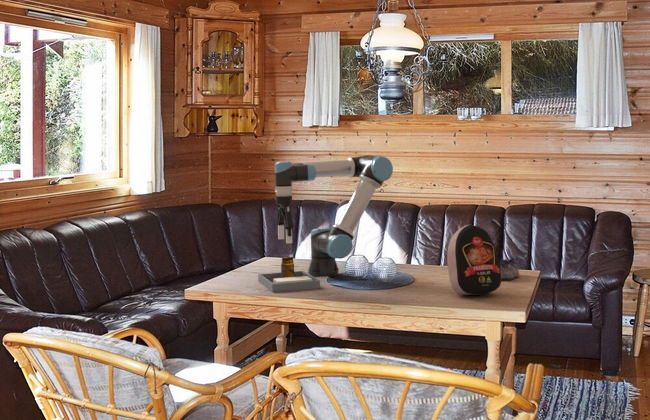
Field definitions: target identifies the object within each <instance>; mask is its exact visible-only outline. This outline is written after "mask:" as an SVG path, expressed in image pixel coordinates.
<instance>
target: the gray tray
mask: <svg viewBox="0 0 650 420" xmlns="http://www.w3.org/2000/svg"><path fill="white" fill-rule="evenodd" d="M302 276H308V277H309V278H311V279H312V281H302V282H290V283H277V284H274V283H273V279H275V278H281V271H280V272H269V273H268V272H267V273H258V274H257V278H258V279H257V280H258V281H257V282H258V283H259V284H261V285H262V286H263V287H265V288H266V289H267V290H269V291H270V292H271V293H279V292H291V291H292V292H294V291H304V290H305V291H306V290H317V289H320V288H321V280H320V279H318V278H317V277H313V276H311V275H310V274H308V272H306V271H304V270H298V271H297V270H294V277H302Z"/></svg>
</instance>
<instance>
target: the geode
mask: <svg viewBox="0 0 650 420" xmlns="http://www.w3.org/2000/svg"><path fill="white" fill-rule="evenodd" d="M518 263H519V259H518V258H517V257H516V258H514V257H512V258H511V259H502V260H499V264H500V271H501V281H508V280H509V281H510V280H511V281H512V280H514V279H515V278H516V279H517V278H520V272H519V264H518Z"/></svg>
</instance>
